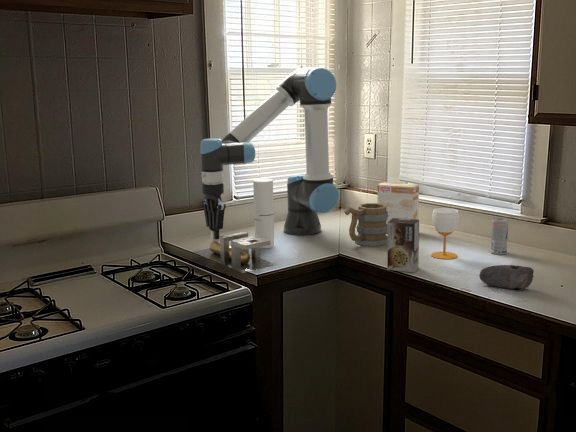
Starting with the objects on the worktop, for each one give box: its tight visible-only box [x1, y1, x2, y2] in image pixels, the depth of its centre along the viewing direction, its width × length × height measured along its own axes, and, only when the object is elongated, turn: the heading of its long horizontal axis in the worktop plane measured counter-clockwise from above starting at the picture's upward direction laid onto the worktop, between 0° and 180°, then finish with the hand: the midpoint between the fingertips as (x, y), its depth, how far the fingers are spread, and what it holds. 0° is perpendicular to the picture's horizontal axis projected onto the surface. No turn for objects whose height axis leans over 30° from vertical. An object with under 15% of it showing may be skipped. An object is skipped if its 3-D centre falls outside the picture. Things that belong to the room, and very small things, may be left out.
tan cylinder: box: [209, 241, 251, 264], centre depth 221 cm, size 20×4×4 cm, turn 37°
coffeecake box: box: [376, 181, 420, 234], centre depth 253 cm, size 15×7×20 cm, turn 58°
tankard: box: [344, 202, 388, 247], centre depth 238 cm, size 20×13×15 cm, turn 124°
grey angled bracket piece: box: [219, 231, 250, 262], centre depth 220 cm, size 10×2×8 cm, turn 128°
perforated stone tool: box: [479, 264, 535, 291], centre depth 187 cm, size 15×5×7 cm, turn 61°
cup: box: [430, 207, 460, 260], centre depth 220 cm, size 9×9×16 cm
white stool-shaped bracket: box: [230, 235, 270, 267], centre depth 212 cm, size 10×8×8 cm
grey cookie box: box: [386, 218, 420, 273], centre depth 206 cm, size 9×6×16 cm
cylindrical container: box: [252, 178, 275, 249], centre depth 235 cm, size 7×7×25 cm
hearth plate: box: [193, 247, 278, 274], centre depth 222 cm, size 14×33×1 cm, turn 37°
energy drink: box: [490, 217, 509, 256], centre depth 222 cm, size 5×5×12 cm
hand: (215, 247), depth 230 cm, fingers closed
